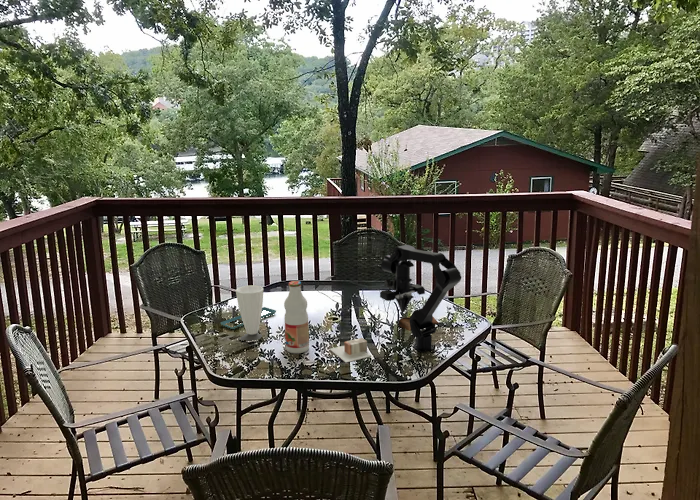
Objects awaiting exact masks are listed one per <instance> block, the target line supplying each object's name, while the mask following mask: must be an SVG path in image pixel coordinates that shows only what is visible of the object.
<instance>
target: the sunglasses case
mask: <svg viewBox="0 0 700 500" xmlns="http://www.w3.org/2000/svg"><path fill="white" fill-rule="evenodd" d="M410 319H411V318H410V316H408V317H402V318H400V319H399V320H398V322H397V324H398V326H399V327H401V329H402V328H403V329H404V330H407V331H409V332H410V331H411V327H410V322H409V321H410ZM432 322H433V324H434V325H438V324H440V322H439V321H438V320H437V319H436V318H435V317H434V316H433V320H432Z"/></svg>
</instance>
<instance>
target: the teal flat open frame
mask: <svg viewBox="0 0 700 500" xmlns="http://www.w3.org/2000/svg"><path fill="white" fill-rule="evenodd" d="M263 310H266V311H269V312H271V313H268V314H266V315H263V316H261V318H263V317H266V316H269V315H272V316H274V315H276V312H277V310H276V309H272V308H269V307H265V306H262V311H263ZM273 314H274V315H273ZM240 318H242V317H241V314H240V315H239V316H235V317H232V318H230V319H227V320H224V321H221V322H220V325H221V326H222V325H223V326H222V327H224V326H225V327H224V328H226V327H227V328H226V329H229V328H230V329H229V330H231V329H234V330H236V329H235V328H237V327H240V326H242V327H244V326H243V325H244V324H243V323H242V324H239V325H237V326H234V327H230V326H228V325H225V324H226V323H229V322H232V321H235V320H237V319H240ZM240 328H241V327H240ZM237 329H238V328H237Z"/></svg>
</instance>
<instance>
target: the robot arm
mask: <svg viewBox="0 0 700 500" xmlns="http://www.w3.org/2000/svg"><path fill="white" fill-rule="evenodd" d="M412 261H415V262H420V263H427V264H431V266H432V269H433V270H432V271H433V275H434V276H435V277H436V279H435V286H434V289H433V290H432V292H431V293H430V295H429V297H428V298H427V299H426V301H425V303H424V304H423V306H422V307H421V308H418V309H415V310H413V311H412V314H411V315H410V316H409V317H410V318H411V319H410V321H409V322H410V327H411V334H412V336H414V337H415V344H414V345H412V348H413V349H415V350H417V351H418V352H419V353H426V352H430V351H433V350H435V349H436V348H435V347H434V346H432V343H433V342H432V341H433V339H432V334H435V333H436V331H437V327H436V326H435V324H433V322H432V320H433V317H434V316H433V314H434V313H435V311H436V310H437V309H438V307H439V305H441V302H442V301H443V299H444V298H445V296H446V294H448V292H449V291H450V290H452V288H453V289H454V287H455V286H457V285H458V284H459V283H460V282H461V280H462V275H461V272H460V270H459V269H458V267H457V266H456V265H455V263H453V261H451V260H449V259H448V258H447V257H446V256H445V254H444V253H442V252H434V251H427V250H421V249H416V248H415V246H413V245H410V244H404V245H398V246H395V247H394V249H393V251H392V253H391V254H390V255H389V254H387V255H384V259H383V260H382V262H381V264H380V268H381V270H382V271H383V272H388V273H391V274H395V276H394V277H393V280H391V279H390V278H387V279H384V288H388V289H385V290H381V291H380V292H379V293H380V294H379V297H380V298H381V299H382V300H385V301H388V302H390V301H395V300H396V302H397V304H398V308H399V310H400V312H401V313H403V314H404V313H405V311H406V309H407V308H408V306H409V303H410V302H411V301H412V299H413V298H415V296H413V294H412V293H417V294H418V295H419V296H420V295H425V294H426V288H425V287H424V286H422V285H420V284H417V283H416V284H411V282H412V281H413V278H411V268H412V267H414V266H415V264H414V263H413V262H412ZM440 266H442V267H444V268H445V269H441V267H440ZM391 289H392V290H391Z"/></svg>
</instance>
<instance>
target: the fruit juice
mask: <svg viewBox="0 0 700 500" xmlns="http://www.w3.org/2000/svg"><path fill="white" fill-rule="evenodd" d="M301 287H302V282H301V281H299V280H292V281H289V282H288V288H289V292H288V296H286V298H285V299H284V303H283V307H284V309H285V313H284V337H285V339H284V340H285V350H286V351H287V352H288V353H291V354H301V353H305V352H307V351H308V350H309V348H310V335H309V334H310V332H309V330H310V329H309V327H310V326H309V314H308V312H307V308H308V300H307V299H306V297H305V296H304V295H303V292H302V288H301Z"/></svg>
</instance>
